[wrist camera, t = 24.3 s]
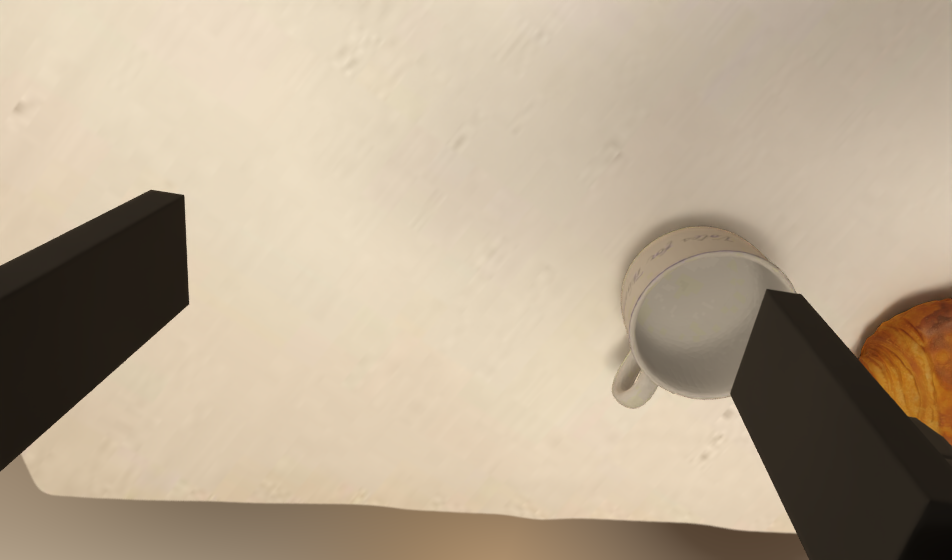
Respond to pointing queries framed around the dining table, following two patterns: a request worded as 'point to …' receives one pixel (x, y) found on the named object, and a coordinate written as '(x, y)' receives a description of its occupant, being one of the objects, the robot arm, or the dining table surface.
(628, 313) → the teacup
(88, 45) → the dining table surface
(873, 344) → the croissant
